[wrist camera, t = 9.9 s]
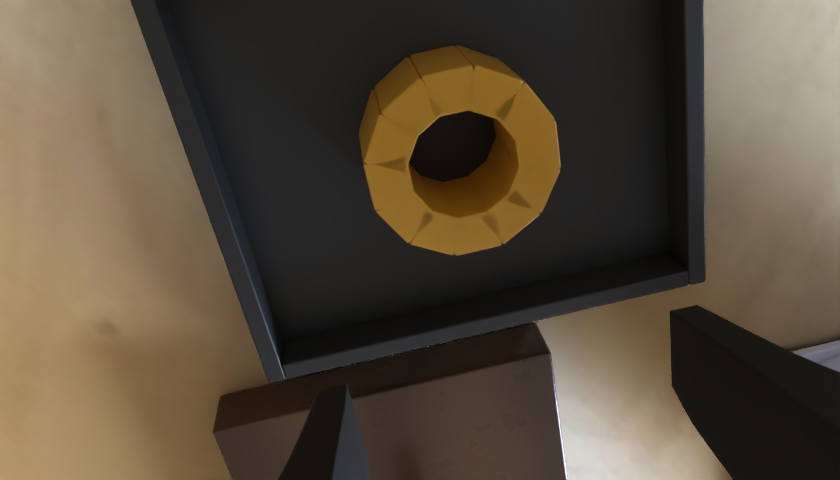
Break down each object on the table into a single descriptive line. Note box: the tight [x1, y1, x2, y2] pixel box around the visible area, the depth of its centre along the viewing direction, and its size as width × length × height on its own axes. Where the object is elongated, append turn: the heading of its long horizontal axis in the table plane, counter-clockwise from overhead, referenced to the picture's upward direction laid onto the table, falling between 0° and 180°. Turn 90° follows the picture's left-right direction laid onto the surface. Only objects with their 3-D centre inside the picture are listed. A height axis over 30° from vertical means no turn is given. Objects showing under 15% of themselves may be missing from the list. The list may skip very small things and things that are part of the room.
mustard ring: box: [359, 45, 561, 256], centre depth 21 cm, size 5×5×3 cm
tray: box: [130, 0, 706, 383], centre depth 22 cm, size 15×13×2 cm
